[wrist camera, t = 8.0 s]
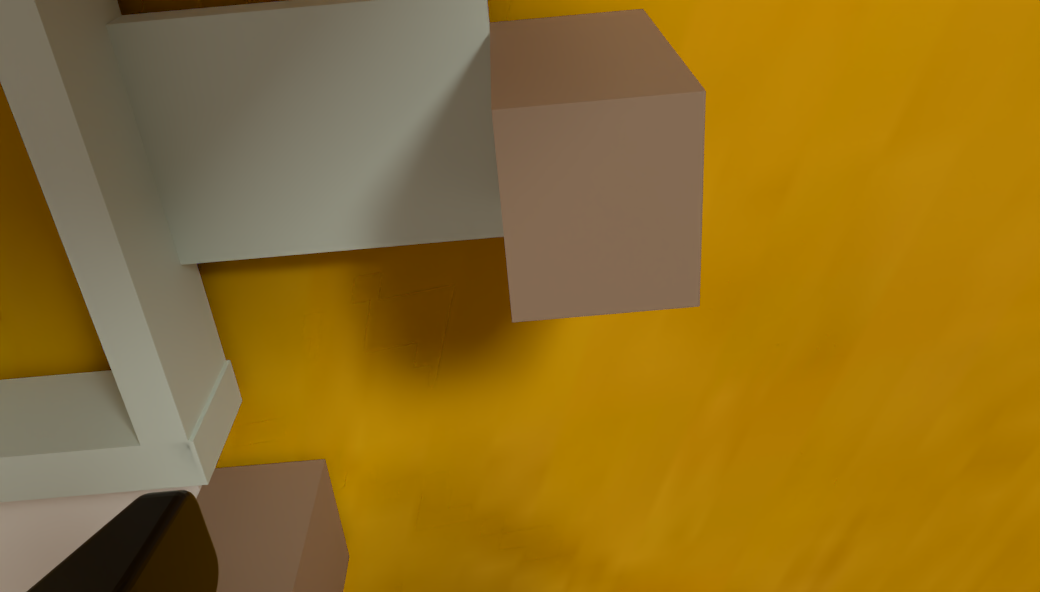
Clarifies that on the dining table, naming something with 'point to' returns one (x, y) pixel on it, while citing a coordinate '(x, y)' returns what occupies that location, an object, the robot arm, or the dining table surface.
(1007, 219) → the dining table surface
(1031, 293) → the dining table surface
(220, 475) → the cream lane
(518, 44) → the tray
